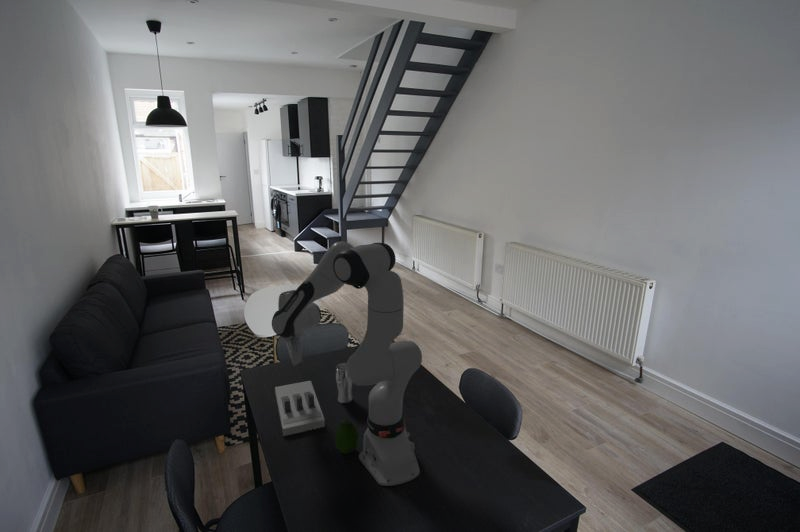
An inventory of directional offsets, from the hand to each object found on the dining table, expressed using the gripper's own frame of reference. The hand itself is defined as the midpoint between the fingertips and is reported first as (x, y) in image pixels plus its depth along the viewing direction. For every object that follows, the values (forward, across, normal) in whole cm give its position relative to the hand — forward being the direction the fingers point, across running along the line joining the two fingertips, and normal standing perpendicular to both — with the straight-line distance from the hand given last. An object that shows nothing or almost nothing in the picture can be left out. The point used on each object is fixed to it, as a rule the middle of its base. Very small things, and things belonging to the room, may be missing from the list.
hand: (294, 363), depth 166 cm
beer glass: (+18, -3, -19) cm, 27 cm away
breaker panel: (+18, -3, 0) cm, 18 cm away
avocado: (+19, -34, -12) cm, 41 cm away
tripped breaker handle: (+15, -7, 0) cm, 16 cm away
